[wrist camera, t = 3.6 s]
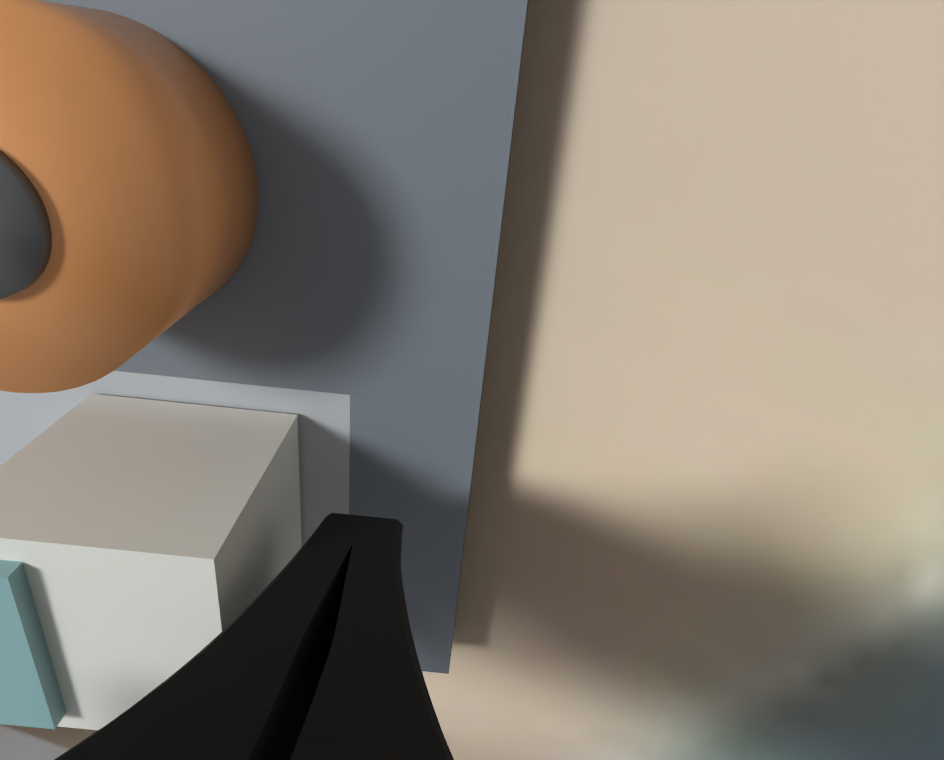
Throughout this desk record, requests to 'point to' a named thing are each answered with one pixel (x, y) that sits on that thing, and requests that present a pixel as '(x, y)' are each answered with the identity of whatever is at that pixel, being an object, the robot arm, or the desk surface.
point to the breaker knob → (134, 548)
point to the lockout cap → (108, 192)
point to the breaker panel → (349, 259)
